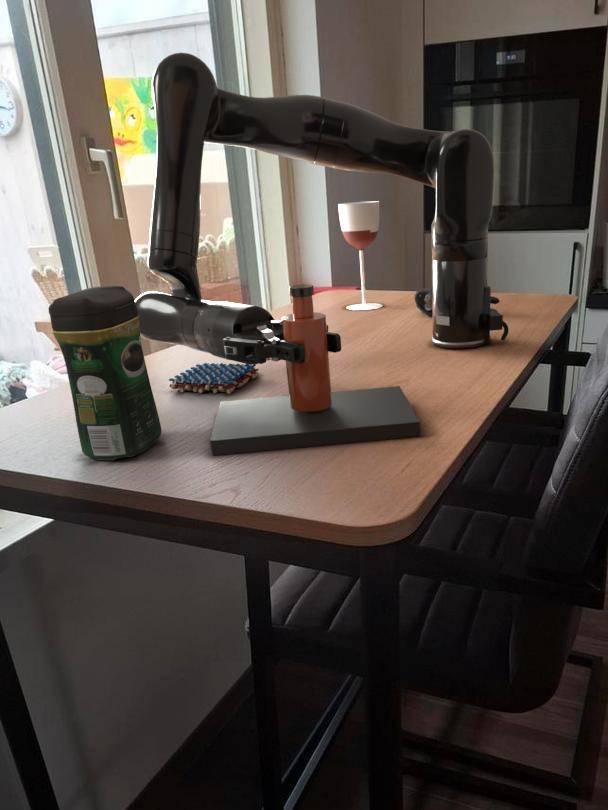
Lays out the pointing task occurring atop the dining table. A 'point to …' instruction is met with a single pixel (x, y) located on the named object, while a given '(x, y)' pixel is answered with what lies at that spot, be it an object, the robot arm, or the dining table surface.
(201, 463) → the dining table surface
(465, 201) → the robot arm
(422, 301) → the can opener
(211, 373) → the woven mat
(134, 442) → the coffee jar
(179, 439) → the dining table surface
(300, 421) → the cutting board
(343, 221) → the wineglass
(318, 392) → the oil bottle
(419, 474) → the dining table surface
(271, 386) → the dining table surface
